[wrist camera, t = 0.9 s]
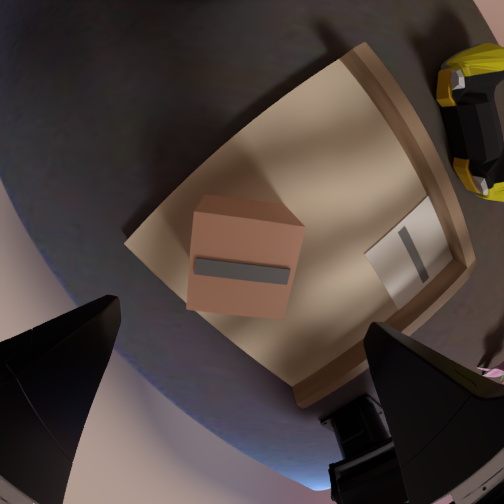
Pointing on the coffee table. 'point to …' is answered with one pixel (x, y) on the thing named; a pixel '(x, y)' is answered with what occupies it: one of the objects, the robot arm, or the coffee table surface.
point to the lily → (495, 371)
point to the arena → (330, 222)
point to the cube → (242, 257)
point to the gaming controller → (474, 117)
